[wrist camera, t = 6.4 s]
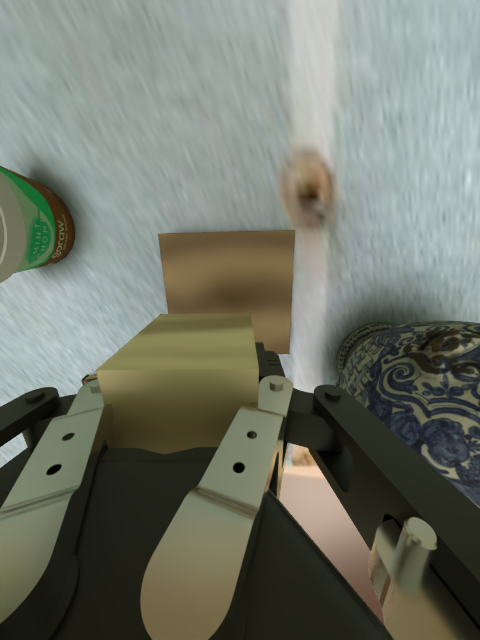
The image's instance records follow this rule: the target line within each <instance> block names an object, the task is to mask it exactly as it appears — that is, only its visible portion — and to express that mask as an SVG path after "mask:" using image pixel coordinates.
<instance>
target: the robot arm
mask: <svg viewBox="0 0 480 640" xmlns="http://www.w3.org/2000/svg"><path fill="white" fill-rule="evenodd" d="M255 347H256V353H257V360H258V366H259V393H258V402H250V403H249V406H246V405H242V406H241V407H240V409H239V411H238V412H237V414H236V416H235V418H234V420H233V422H232V424H231V425H230V427H229V429H228V431H227V433H226V435H225V437H224V438H223V440H222V442H221V444H220V446H219V447H196V448H191V449H187V450H182V451H178V452H174V453H169V454H161V453H156V452H152V451H148V450H144V449H140V448H116V444H115V440H114V435H113V427H112V425H113V417H114V413H113V409H112V404H104V403H103V398H102V394H101V390H100V386H99V382H98V379H95V380H92V381H90V382H88V383H86V384H85V385H83V386H82V387H81V388H80V389H79V391H78V393H77V394H75V395H69V396H64V397H59V394H58V391H57V389H56V388H53V387H45V388H40V389H36V390H33V391H30V392H28V393H25V394H23V395H21V396H20V397H18V398H16V399H14V400H12V401H10V402H9V403H7V404H5V405H3V406H1V407H0V447H1V446H3V445H4V444H5V443H7V442H8V441H10V440H11V439H13V438H14V437H16V436H17V435H19V434H20V433H22V434H23V436H24V439H25V441H26V444H27V447H28V448H26V449H25V450H24V451H22V452H21V453H20V454H18V455H17V456H16V457H14V458H13V459H12V460H10V461H9V462H8V463H6V464H5V465H4V466H3V467H1V468H0V640H480V508H479V507H478V506H476V505H475V504H474V503H473V502H472V501H471V500H470V499H469V498H467V497H466V496H465V495H464V494H463V493H462V492H461V491H459V490H458V489H457V488H456V487H455V486H454V485H453V484H452V483H450V482H449V481H448V480H447V479H446V478H445V477H444V476H442V475H441V474H440V473H439V472H438V471H437V470H436V469H434V468H433V467H432V466H431V465H430V464H429V463H428V462H427V461H425V460H424V459H423V458H422V457H421V456H420V455H419V454H417V453H416V452H415V451H414V450H413V449H412V448H411V447H410V446H408V445H407V444H406V443H405V442H404V441H403V440H402V439H400V438H399V437H398V436H397V435H396V434H395V433H394V432H393V431H391V430H390V429H389V428H388V427H387V426H386V425H385V424H383V423H382V422H381V421H380V420H379V419H378V418H377V417H376V416H374V415H373V414H372V413H371V412H370V411H369V410H368V409H366V408H365V407H364V406H363V405H362V404H361V403H360V402H358V401H357V400H356V399H355V398H354V397H353V396H352V395H351V394H349V393H348V392H347V391H346V390H344V389H342V388H340V387H338V386H334V385H320V386H317V387H316V388H315V389H314V394H313V393H308V392H303V391H300V390H297V389H295V388H293V383H292V382H291V381H290V380H289V379H287V378H286V377H285V374H284V371H283V368H282V365H281V362H280V359H279V357H278V355H277V354H276V353H275V352H274V351H265V349H264V344H263V342H255ZM289 443H292V444H296V445H299V446H303V447H307V448H308V449H309V452H310V454H311V455H312V457H313V458H314V460H315V462H316V463H317V465H318V467H319V468H320V470H321V471H322V473H323V475H324V476H325V478H326V479H327V481H328V483H329V484H330V486H331V488H332V489H333V491H334V492H335V494H336V496H337V497H338V499H339V500H340V502H341V504H342V505H343V507H344V509H345V510H346V512H347V513H348V515H349V516H350V518H351V520H352V521H353V523H354V525H355V526H356V528H357V530H358V531H359V533H360V534H361V536H362V538H363V539H364V541H365V543H366V544H367V546H368V547H369V549H370V551H371V554H370V558H369V563H368V569H369V576H370V580H371V583H372V586H373V588H374V590H375V592H376V595H377V597H378V599H379V601H380V605H381V608H382V611H383V616H384V624H385V625H383V623H382V622H381V621H380V620H379V619H378V617H377V616H376V615H375V614H374V613H373V611H372V610H371V609H370V608H369V607H368V606H367V604H366V603H365V602H364V601H363V600H362V598H361V597H360V596H359V595H358V594H357V592H356V591H355V590H354V589H353V588H352V586H350V584H349V583H348V582H347V580H346V579H345V578H344V577H343V576H342V575H341V573H340V572H339V571H338V570H337V569H336V567H335V566H334V565H333V564H332V563H331V561H330V560H329V559H328V558H327V557H326V556H325V554H324V553H323V552H322V551H321V550H320V548H319V547H318V546H317V545H316V544H315V543H314V541H313V540H312V539H311V538H310V537H309V535H308V534H307V533H306V532H305V531H304V529H303V528H302V527H301V526H300V525H299V523H298V522H297V521H296V520H295V519H294V517H293V516H292V515H291V514H290V513H289V512H288V510H287V509H286V508H285V507H284V506H283V504H282V503H281V502H280V501H279V497H280V489H281V482H282V476H283V470H284V465H285V460H286V455H287V450H288V445H289Z"/></svg>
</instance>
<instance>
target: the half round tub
mask: <svg viewBox="0 0 480 640" xmlns="http://www.w3.org/2000/svg"><path fill="white" fill-rule="evenodd" d="M74 240H75V227H74V223H73V219H72V217H71V214H70V212H69V210H68V208H67V207H66V205H65V204H64V203H63V201H62V200H61V199H60V198H59V197H58V196H57V195H56V194H55V193H54V192H53V191H52V190H50V189H49V188H47V187H46V186H44V185H42V184H40V183H38V182H36V181H33V180H31V179H29V178H26V177H24V176H22V175H20V174H17V173H15V172H13V171H11V170H8V169H6V168H4V167H2V166H0V283H1V282H3V281H5V280H6V279H8V278H9V277H10V276H11V275H12V274H13V273H16V272H21V271H25V270H29V269H33V268H37V267H41V266H46V265H50V264H54V263H57V262H59V261H60V260H62V259H64V258H65V257H66V256H67V255H68V253H69V252H70V251H71V249H72V247H73V244H74Z"/></svg>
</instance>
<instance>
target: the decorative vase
mask: <svg viewBox="0 0 480 640" xmlns="http://www.w3.org/2000/svg"><path fill="white" fill-rule="evenodd" d="M337 368H338V371H339V374H340V377H339V381H338V382H337V383H336V386H338V387H340V388H342V389H344V390H346V391H347V392H348V393H349V394H351V395H352V396H353V397H354V398H355V399H356V400H357V401H358V402H360V403H361V404H362V405H363V406H364V407H365V408H366V409H368V410H369V411H370V412H371V413H372V414H373V415H374V416H376V417H377V418H378V419H379V420H380V421H381V422H382V423H383V424H385V425H386V426H387V427H388V428H389V429H390V430H391V431H393V432H394V433H395V434H396V435H397V436H398V437H399V438H400V439H402V440H403V441H404V442H405V443H406V444H407V445H408V446H410V447H411V448H412V449H413V450H414V451H415V452H416V453H417V454H419V455H420V456H421V457H422V458H423V459H424V460H425V461H427V462H428V463H429V464H430V465H431V466H432V467H433V468H434V469H436V470H437V471H438V472H439V473H440V474H441V475H442V476H444V477H445V478H446V479H447V480H448V481H449V482H450V483H452V484H453V485H454V486H455V487H456V488H457V489H458V490H459V491H461V492H462V493H463V494H464V495H465V496H466V497H467V498H469V499H470V500H471V501H472V502H473V503H474V504H475V505H476V506H478V507H479V508H480V323H474V322H461V321H427V322H417V323H410V324H405V325H400V326H397V325H394V324H391V323H384V322H378V323H371V324H368V325H365V326H363V327H360V328H358V329H357V330H355V331H354V332H353V333H351V334H350V335H349V336H348V337H347V338H346V339H345V341H344V342H343V343H342V345H341V347H340V349H339V352H338V355H337Z"/></svg>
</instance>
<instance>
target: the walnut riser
mask: <svg viewBox="0 0 480 640" xmlns="http://www.w3.org/2000/svg"><path fill="white" fill-rule="evenodd" d="M158 237H159V245H160V253H161V260H162V268H163V276H164V284H165V291H166V299H167V307H168V314H214V313H250V315H251V321H252V327H253V334H254V340H255V342H263V344H264V349H265V351H274V352H275V353H276V354H289V347H290V326H291V304H292V283H293V261H294V240H295V230H276V231H240V232H203V233H167V234H158Z"/></svg>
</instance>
